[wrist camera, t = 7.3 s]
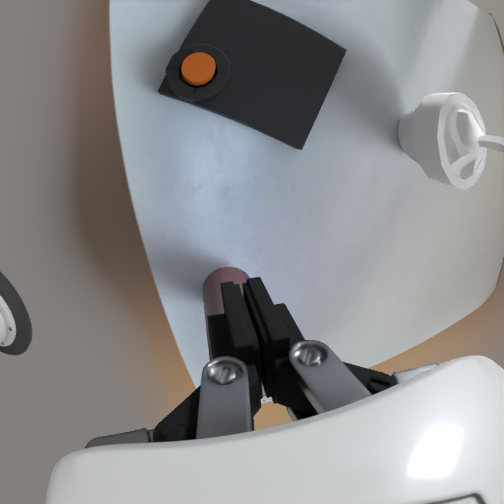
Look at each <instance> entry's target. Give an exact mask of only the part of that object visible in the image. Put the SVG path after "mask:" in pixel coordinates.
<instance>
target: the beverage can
mask: <svg viewBox="0 0 504 504" xmlns="http://www.w3.org/2000/svg"><path fill="white" fill-rule="evenodd" d="M249 278H250V277H249V276H248V275H247V274H246V273H245V272H244V271H242V270H241V269H238V268H234V267H224V268H220V269H217V270H215V271H214V272H212V273H211V274H210V275H209V276H208V277H207V278H206V280H205V282H204V285H203V299H204V310H205V321H206V330H207V340H208V348H209V357H210V361H211V360H213V359H212V352H211V345H210V337H209V329H208V321H207V316H210V315H217V314H223V313H224V308H223V301H222V294H221V286H220V283H223V282H230V281H233V282H234V284H239V286H240V289H241V292H242V295H243V287H242V283H246V282H247V279H249ZM262 393H263V396H266V394H265V391H264V388H263V385H262Z"/></svg>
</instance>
